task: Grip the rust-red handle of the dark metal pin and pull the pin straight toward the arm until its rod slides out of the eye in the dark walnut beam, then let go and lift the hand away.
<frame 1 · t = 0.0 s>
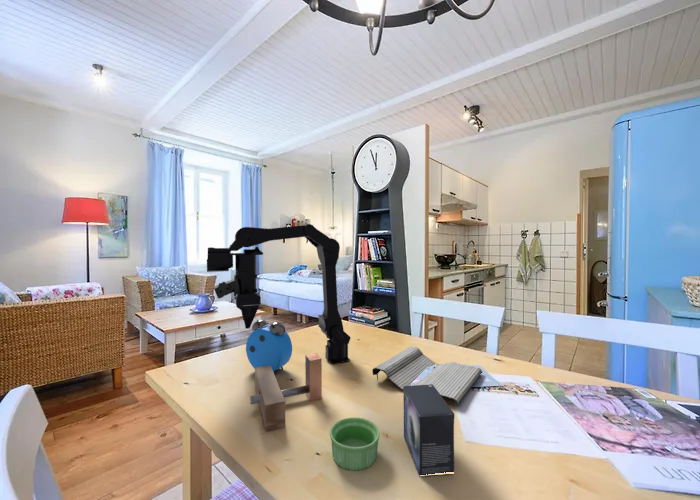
hand: (246, 324, 88), 15 cm above the table, tool pointing down, fingers open, 9 cm apart
pin: (313, 396, 76), on the table, touching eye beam
mat: (428, 380, 86), on the table
alarm clock: (269, 371, 91), on the table
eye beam: (268, 405, 71), on the table
small box: (426, 455, 55), on the table
ramekin: (354, 456, 55), on the table
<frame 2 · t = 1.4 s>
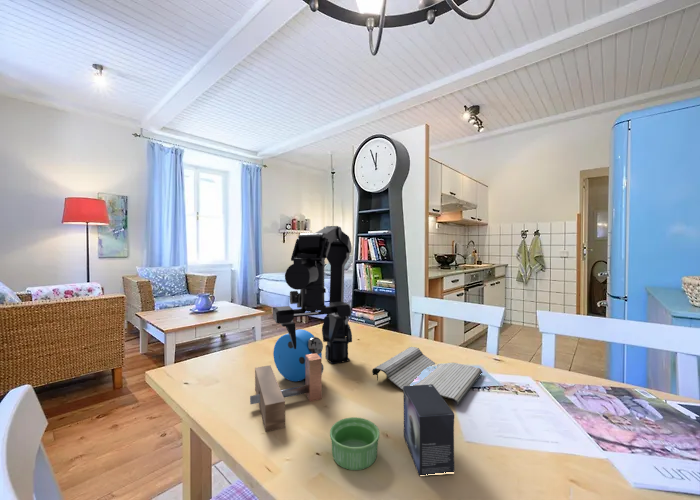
hand: (313, 346, 75), 13 cm above the table, tool pointing down, fingers open, 9 cm apart
alarm clock: (278, 351, 89), point 6 cm above the table
everything else where it was.
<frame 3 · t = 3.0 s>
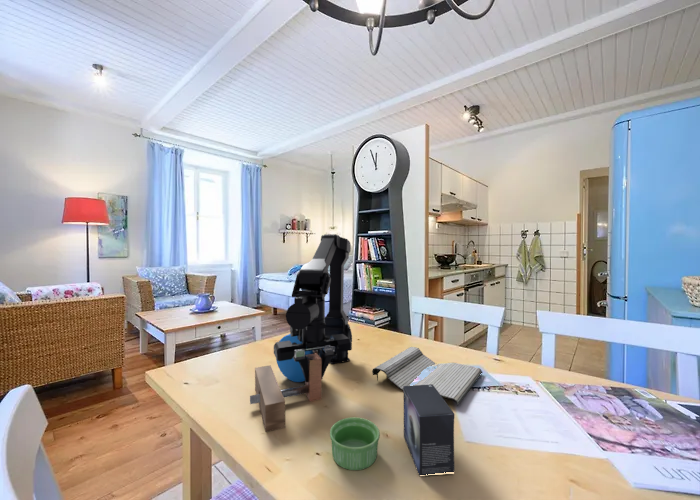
hand: (313, 380, 76), 4 cm above the table, tool pointing down, fingers closed on pin, 3 cm apart
pin: (313, 396, 76), on the table, touching gripper
alarm clock: (280, 348, 89), point 7 cm above the table
everything else where it was.
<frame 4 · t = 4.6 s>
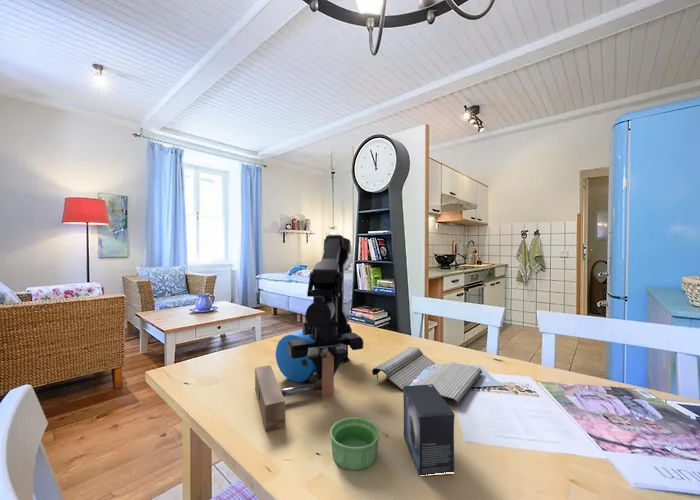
hand: (325, 378, 77), 4 cm above the table, tool pointing down, fingers closed on pin, 3 cm apart
pin: (325, 393, 77), on the table, touching gripper
everything else where it was.
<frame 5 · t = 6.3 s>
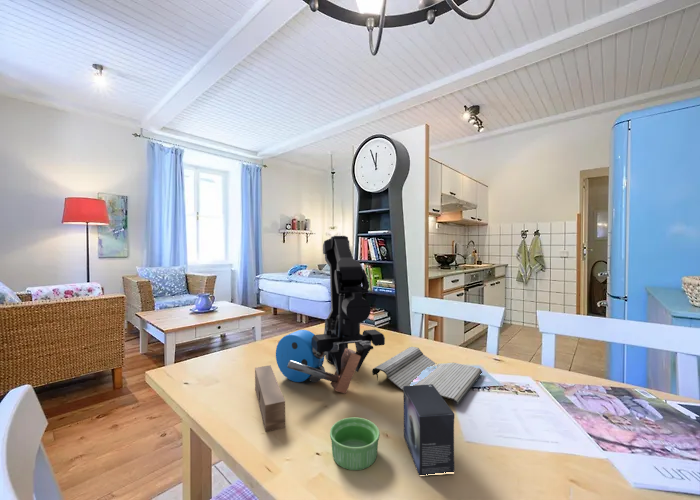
hand: (347, 372, 79), 4 cm above the table, tool pointing down, fingers closed on pin, 5 cm apart
pin: (337, 388, 78), point 1 cm above the table, tilted 26°, touching gripper
everything else where it was.
when the fingers open (4 cm above the table, at t = 7.1 s): pin stays where it is, on the table.
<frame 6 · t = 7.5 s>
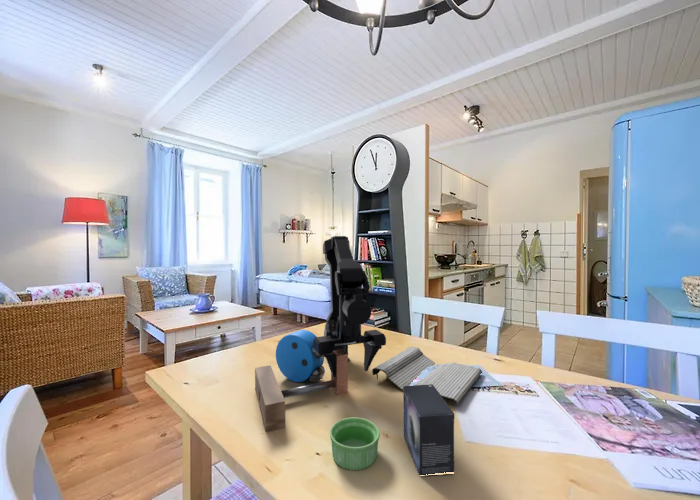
hand: (350, 373, 79), 4 cm above the table, tool pointing down, fingers open, 9 cm apart
pin: (339, 390, 79), on the table, touching gripper
everything else where it was.
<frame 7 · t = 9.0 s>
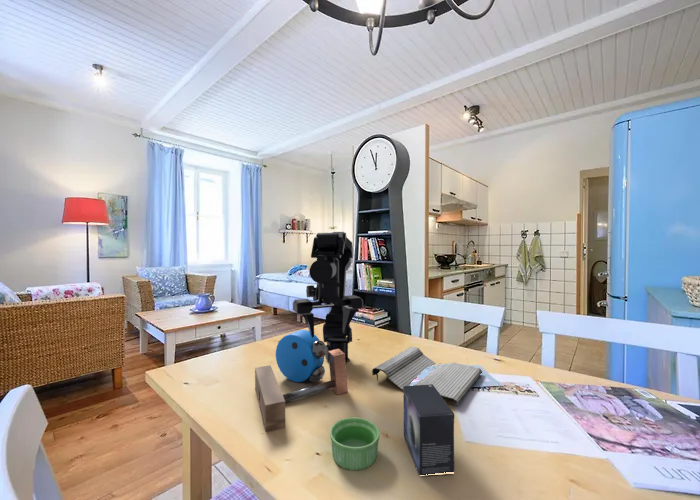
hand: (328, 335, 83), 13 cm above the table, tool pointing down, fingers open, 9 cm apart
pin: (339, 389, 79), on the table, tilted 5°
everything else where it was.
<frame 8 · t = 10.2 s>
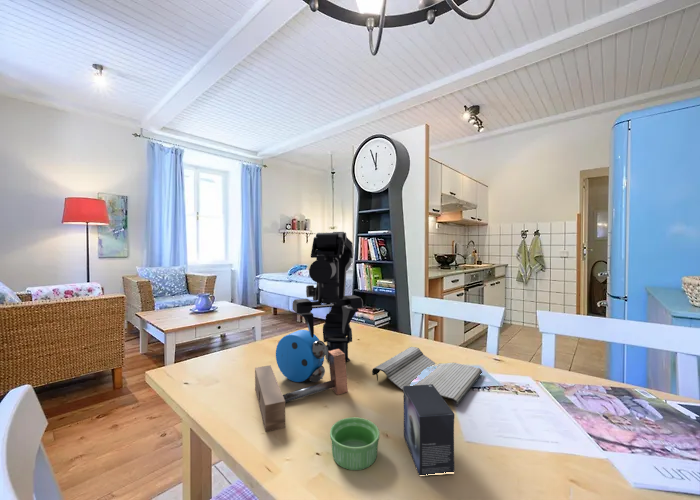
hand: (328, 335, 83), 13 cm above the table, tool pointing down, fingers open, 9 cm apart
nothing on the table moved.
at the end: pin inside the target area (2.4 cm from its centre), on the table; pin touching table; the gripper is holding nothing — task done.
